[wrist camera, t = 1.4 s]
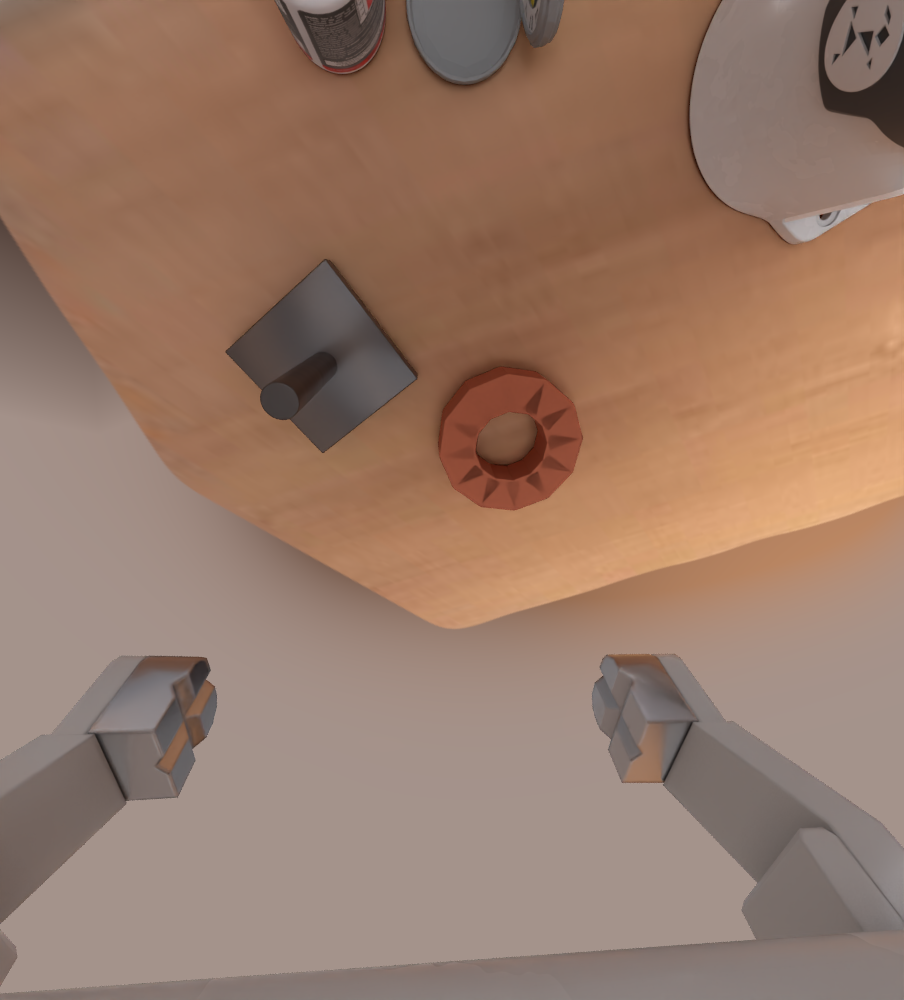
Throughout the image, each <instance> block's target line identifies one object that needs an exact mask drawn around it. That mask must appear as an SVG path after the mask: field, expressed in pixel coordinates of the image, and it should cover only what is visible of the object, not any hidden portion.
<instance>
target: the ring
mask: <svg viewBox="0 0 904 1000" xmlns="http://www.w3.org/2000/svg"><path fill="white" fill-rule="evenodd" d="M507 412H515V413H522V414H528V415H529V416H531V417H532V418H533V419H534V420H535V423H536V427H537V430H538V432H537V436H536V440H535V444H534V447H533V448H532V450H531V451H530V452H529V453H528V454H527V455H526V456H525V457H524V458H523V460H521V461H518V462H515V463H513V464H510V465H508V466H502V465H493V464H489V463H488V462H486V461H485V460H484V459H482V458H481V457H480V456H478V455H477V453H476V445H477V439H478V434H479V433H480V432H481V430H482V429H483V428H484V427H485V426H486V424H487V423H488V422H489V421H490V420H491V419H492V418H495V417H497V416H500V415H502V414H505V413H507ZM582 440H583V436H582V433H581V429H580V425H579V421H578V417H577V413H576V410H575V406H574V404H573V402H572V401H571V400H569V399H568V398H567V397H566V396H565V395H564V394H563V393H561V392H560V391H559V390H558V389H557V388H556V387H555V386H554V385H552V384H551V383H550V382H549V381H548V380H547V379H545V378H544V377H543V376H541V375H540V374H539V373H538V372H536V371H529V370H522V369H515V368H508V367H498V368H495V369H493V370H490V371H488V372H486V373H483V374H481V375H478V376H476V377H474V378H471V379H469V380H466V381H465V382H464V383H463V385H462V386H461V387H460V388H459V390H458V391H457V392H456V394H455V395H454V396H453V397H452V399H451V400H450V401H449V403H448V404H447V405H446V406H445V408H444V409H443V412H442V419H441V426H440V433H439V441H438V447H439V456H440V459H441V462H442V464H443V466H444V469H445V471H446V473H447V475H448V478H449V480H450V482H451V484H452V487H453V488H454V489H456V490H457V491H458V492H460V493H461V494H463V495H464V496H466V497H467V498H469V499H470V500H471V501H473V502H474V503H476V504H477V505H479V506H481V507H486V508H496V509H505V510H517V509H520V508H523V507H525V506H528V505H531V504H534V503H536V502H539V501H542V500H544V499H547V498H548V497H549V496H550V495H551V494H552V493H553V492H554V491H555V490H556V489H557V488H558V487H559V486H560V485H561V484H562V483H563V482H564V481H565V480H566V479H567V478H568V477H569V476H570V475H571V474H572V472H573V470H574V467H575V463H576V460H577V456H578V453H579V450H580V446H581V443H582Z"/></svg>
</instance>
